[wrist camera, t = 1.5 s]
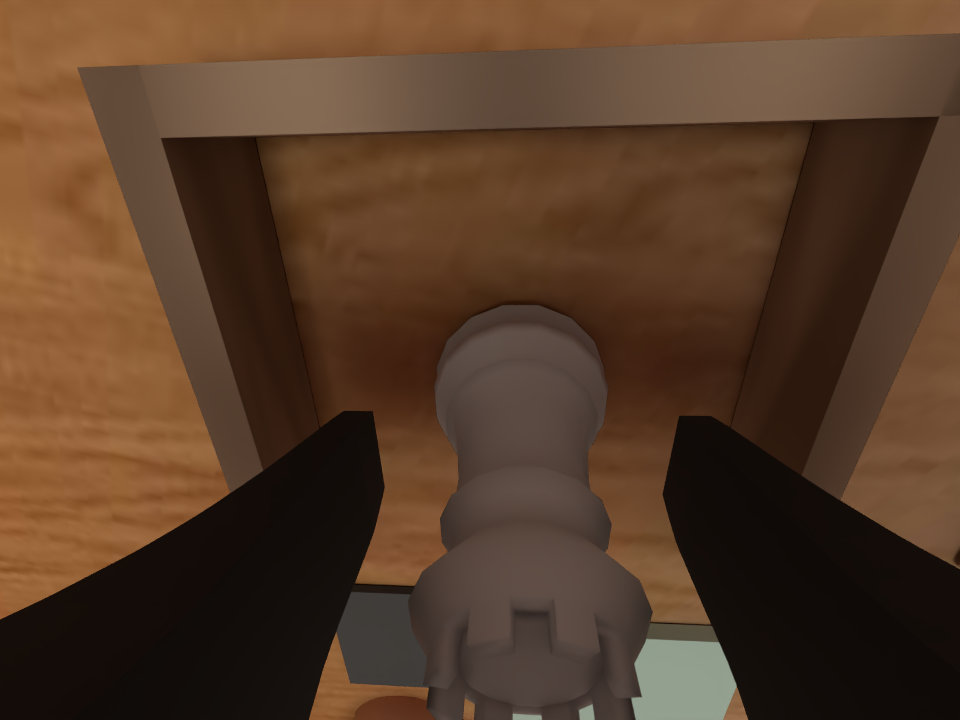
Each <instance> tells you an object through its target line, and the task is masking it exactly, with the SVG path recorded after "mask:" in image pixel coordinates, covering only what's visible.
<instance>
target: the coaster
mask: <svg viewBox="0 0 960 720" xmlns="http://www.w3.org/2000/svg"><path fill="white" fill-rule="evenodd" d="M634 665H635V669H636V673H637V678H638V682H639V686H640V690H641V695H642V697H637V698H631V699H632V704H633V708H634V713H635V718H636V720H723V718H724V715H725V713H726V710H727V708H728V706H729V703H730V701H731V698H732V696H733V693H734V691H735V689H736V686H737V685H736V683H735V680H734V678H733V675H732V672H731V670H730V667H729V665H728V662H727V660H726V657H725V655H724V653H723V650H722V648H721V646H720V644H719V641H718V639H717V637H716V634H715V632H714V630H713V627H712V626H702V625H679V624H656V623H650V625H649V629H648V633H647V638H646V642H645V644H644V646H643V648H642V650H641V652H640V654H639V656H638V658H637V660H636V662H635V663H634ZM579 716H580V720H595V718H594V711H593V704H592V705H590V706H587V707H585V708H583V709H581V710H579ZM513 720H542V716H540V715H523V714H513Z"/></svg>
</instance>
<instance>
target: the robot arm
mask: <svg viewBox="0 0 960 720" xmlns="http://www.w3.org/2000/svg"><path fill="white" fill-rule="evenodd" d="M384 488H385V486H384V480H383V474H382V467H381V461H380V454H379V448H378V441H377V435H376V429H375V422H374V416H373V411H343V412H342V413H340V414H339V415H337V416H336V417H334V418H333V419H332V420H330V421H329V422H328V423H326V424H325V425H324V426H322V427H321V428H320V429H318V430H317V431H316V432H314V433H313V434H312V435H310V436H309V437H308V438H306V439H305V440H304V441H302V442H301V443H300V444H298V445H297V446H296V447H294V448H293V449H292V450H290V451H289V452H288V453H286V454H285V455H284V456H282V457H281V458H280V459H278V460H277V461H276V462H274V463H273V464H272V465H270V466H269V467H268V468H266V469H265V470H263V471H262V472H261V473H259V474H258V475H256V476H255V477H253V478H252V479H250V480H249V481H247V482H246V483H244V484H243V485H242V486H240V487H239V488H237V489H236V490H234V491H233V492H231V493H230V494H228V495H227V496H226V497H224V498H223V499H221V500H220V501H218V502H217V503H215V504H214V505H212V506H211V507H209V508H208V509H206V510H204V511H203V512H201V513H200V514H198V515H197V516H195V517H193V518H192V519H190V520H188V521H187V522H185V523H184V524H182V525H180V526H179V527H177V528H175V529H173V530H172V531H170V532H168V533H167V534H165V535H163V536H161V537H160V538H158V539H156V540H155V541H153V542H151V543H150V544H148V545H146V546H144V547H143V548H141V549H139V550H137V551H135V552H134V553H132V554H130V555H128V556H126V557H124V558H122V559H120V560H118V561H116V562H115V563H113V564H111V565H109V566H107V567H105V568H103V569H101V570H99V571H97V572H95V573H93V574H91V575H89V576H88V577H86V578H84V579H82V580H80V581H78V582H76V583H74V584H72V585H70V586H68V587H66V588H64V589H63V590H61V591H59V592H57V593H55V594H53V595H51V596H49V597H47V598H45V599H43V600H41V601H38V602H36V603H34V604H32V605H30V606H28V607H26V608H24V609H22V610H19V611H17V612H15V613H13V614H11V615H9V616H7V617H5V618H2V619H0V720H309V717H310V713H311V710H312V706H313V703H314V699H315V696H316V692H317V689H318V685H319V682H320V678H321V674H322V671H323V668H324V665H325V662H326V659H327V656H328V653H329V650H330V647H331V644H332V641H333V639H334V636H335V633H336V631H337V628H338V626H339V623H340V620H341V618H342V615H343V613H344V610H345V607H346V605H347V602H348V599H349V597H350V594H351V592H352V589H353V586H354V584H355V581H356V579H357V576H358V573H359V571H360V568H361V565H362V563H363V560H364V557H365V555H366V552H367V549H368V547H369V544H370V541H371V539H372V536H373V533H374V530H375V526H376V522H377V518H378V514H379V510H380V506H381V501H382V497H383V492H384ZM663 498H664V501H665V505H666V509H667V513H668V516H669V520H670V523H671V527H672V530H673V533H674V537H675V540H676V543H677V545H678V548H679V550H680V553H681V555H682V558H683V560H684V562H685V565H686V567H687V569H688V572H689V574H690V576H691V579H692V581H693V583H694V586H695V588H696V590H697V593H698V595H699V597H700V600H701V602H702V604H703V607H704V609H705V611H706V613H707V616H708V618H709V620H710V623H711V625H712V627H713V630H714V632H715V634H716V637H717V639H718V641H719V644H720V646H721V648H722V650H723V653H724V655H725V657H726V660H727V662H728V665H729V667H730V670H731V672H732V675H733V678H734V680H735V683H736V685H737V688H738V690H739V693H740V696H741V699H742V702H743V705H744V708H745V711H746V714H747V717H748V720H960V569H958V568H956V567H955V566H953V565H951V564H949V563H947V562H945V561H943V560H942V559H940V558H938V557H936V556H934V555H932V554H930V553H929V552H927V551H925V550H923V549H921V548H919V547H918V546H916V545H914V544H912V543H911V542H909V541H907V540H905V539H904V538H902V537H900V536H898V535H896V534H895V533H893V532H891V531H890V530H888V529H886V528H885V527H883V526H881V525H880V524H878V523H876V522H875V521H873V520H871V519H870V518H868V517H866V516H865V515H863V514H861V513H860V512H858V511H857V510H855V509H853V508H852V507H850V506H848V505H847V504H845V503H843V502H842V501H840V500H839V499H837V498H836V497H834V496H832V495H831V494H829V493H828V492H826V491H824V490H823V489H821V488H820V487H818V486H817V485H815V484H814V483H812V482H811V481H809V480H808V479H806V478H805V477H803V476H801V475H800V474H798V473H797V472H795V471H794V470H792V469H791V468H789V467H788V466H786V465H785V464H783V463H782V462H781V461H779V460H778V459H776V458H775V457H773V456H772V455H770V454H769V453H767V452H766V451H764V450H763V449H761V448H760V447H758V446H757V445H755V444H754V443H752V442H751V441H750V440H748V439H747V438H745V437H744V436H742V435H741V434H739V433H738V432H736V431H735V430H733V429H732V428H730V427H728V426H727V425H725V424H724V423H722V422H720V421H719V420H717V419H715V418H714V417H712V416H679V419H678V424H677V429H676V433H675V438H674V443H673V448H672V452H671V457H670V462H669V467H668V471H667V476H666V481H665V486H664V490H663Z"/></svg>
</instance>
